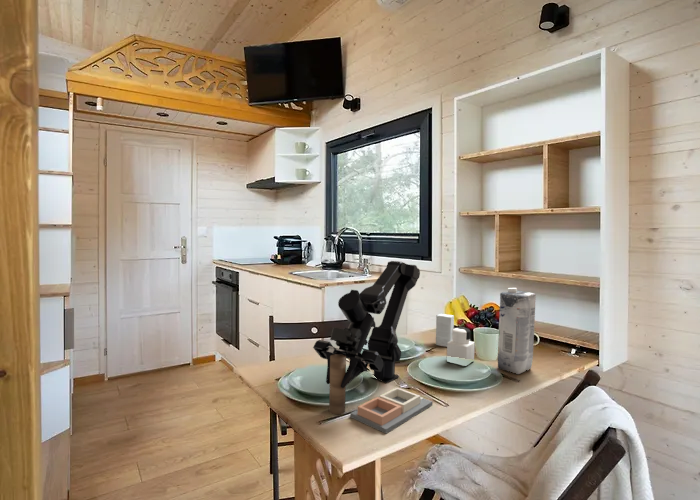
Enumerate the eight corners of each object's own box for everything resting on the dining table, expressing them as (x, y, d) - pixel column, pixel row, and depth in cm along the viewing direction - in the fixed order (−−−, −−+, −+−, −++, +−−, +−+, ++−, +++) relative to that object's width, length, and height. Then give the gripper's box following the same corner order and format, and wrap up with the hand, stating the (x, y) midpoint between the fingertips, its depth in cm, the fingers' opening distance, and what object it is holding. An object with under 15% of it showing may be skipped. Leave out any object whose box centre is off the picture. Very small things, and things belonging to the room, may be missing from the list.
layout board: (398, 392, 112) (398, 382, 112) (432, 405, 105) (432, 394, 104) (350, 417, 97) (350, 405, 97) (386, 433, 90) (386, 420, 90)
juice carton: (535, 369, 132) (539, 289, 131) (518, 376, 126) (523, 292, 124) (510, 362, 139) (513, 285, 138) (493, 368, 133) (497, 288, 131)
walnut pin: (337, 405, 103) (337, 353, 102) (348, 411, 101) (349, 356, 100) (325, 411, 100) (326, 356, 99) (337, 416, 98) (338, 360, 97)
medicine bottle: (455, 357, 143) (456, 324, 142) (474, 362, 139) (475, 328, 138) (446, 362, 138) (447, 328, 137) (465, 367, 133) (467, 332, 132)
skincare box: (453, 345, 158) (454, 315, 157) (450, 347, 155) (451, 317, 154) (438, 342, 161) (439, 313, 161) (435, 344, 158) (436, 315, 157)
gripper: (317, 310, 107) (290, 362, 98) (379, 320, 97) (355, 378, 89) (333, 332, 114) (309, 382, 106) (392, 343, 105) (371, 400, 96)
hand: (334, 385), depth 99 cm, fingers closed on walnut pin, 4 cm apart
